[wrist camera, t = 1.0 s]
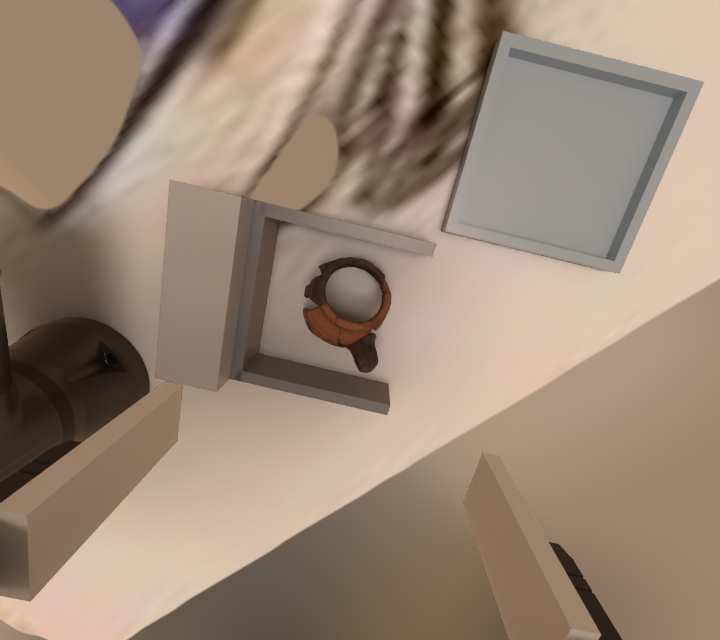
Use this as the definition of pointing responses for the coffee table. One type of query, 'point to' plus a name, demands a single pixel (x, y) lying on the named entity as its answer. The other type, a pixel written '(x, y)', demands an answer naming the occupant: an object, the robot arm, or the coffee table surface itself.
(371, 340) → the pottery mug
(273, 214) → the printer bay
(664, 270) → the coffee table surface
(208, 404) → the coffee table surface
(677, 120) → the tray
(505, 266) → the coffee table surface
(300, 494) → the coffee table surface
